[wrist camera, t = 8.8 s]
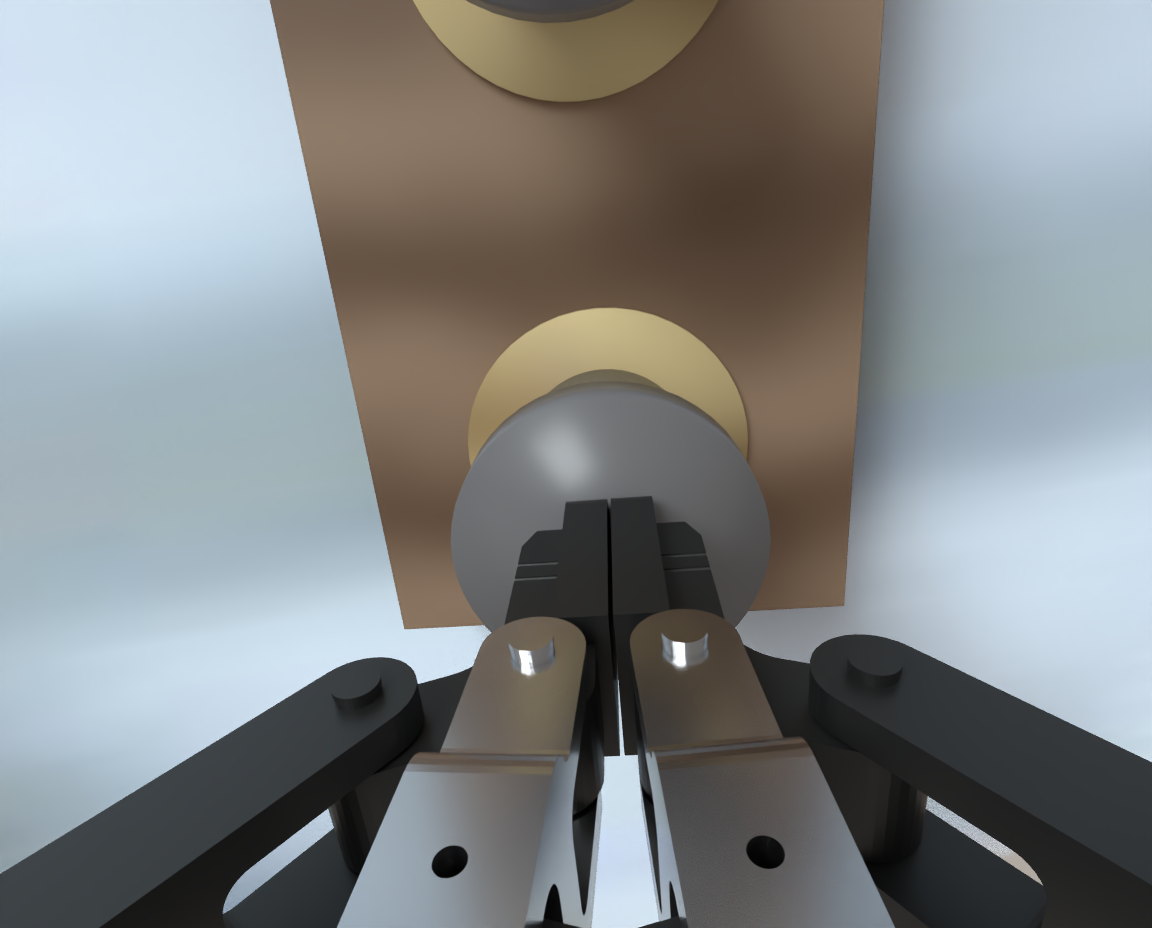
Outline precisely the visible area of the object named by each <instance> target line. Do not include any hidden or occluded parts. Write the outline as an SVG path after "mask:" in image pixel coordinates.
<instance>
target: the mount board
mask: <svg viewBox="0 0 1152 928" xmlns="http://www.w3.org/2000/svg"><path fill="white" fill-rule="evenodd" d="M270 3H271V8H272V13H273V17H274V22H275V27H276V31H277V36H278V41H279V45H280V50H281V55H282V59H283V64H284V69H285V73H286V78H287V83H288V87H289V92H290V97H291V101H292V106H293V111H294V115H295V120H296V125H297V129H298V134H299V139H300V143H301V148H302V153H303V157H304V162H305V167H306V171H307V176H308V181H309V185H310V190H311V195H312V199H313V204H314V209H315V213H316V218H317V223H318V227H319V232H320V237H321V241H322V246H323V251H324V255H325V260H326V265H327V269H328V274H329V279H330V283H331V288H332V293H333V297H334V302H335V307H336V311H337V316H338V321H339V325H340V330H341V335H342V339H343V344H344V349H345V353H346V358H347V363H348V367H349V372H350V377H351V381H352V386H353V391H354V395H355V400H356V405H357V409H358V414H359V419H360V423H361V428H362V433H363V437H364V442H365V447H366V451H367V456H368V461H369V465H370V470H371V475H372V479H373V484H374V489H375V493H376V498H377V503H378V507H379V512H380V517H381V521H382V526H383V531H384V535H385V540H386V545H387V549H388V554H389V559H390V563H391V568H392V573H393V577H394V582H395V587H396V591H397V596H398V601H399V605H400V610H401V615H402V619H403V624H404V629H419V628H438V627H456V626H475V625H484V624H483V623H482V622H481V620H480V619H479V618H478V616H477V615H476V614H475V612H474V611H473V610H472V608H471V606H470V604H469V603H468V601H467V599H466V598H465V596H464V594H463V591H462V589H461V587H460V584H459V582H458V579H457V576H456V572H455V568H454V564H453V560H452V550H451V523H452V518H453V513H454V508H455V504H456V501H457V498H458V496H459V493H460V490H461V487H462V485H463V483H464V481H465V479H466V476H467V474H468V472H469V470H470V468H471V466H472V464H473V462H474V460H475V458H476V456H477V454H478V452H479V451H480V449H481V447H482V446H483V445H484V443H485V442H486V440H487V439H488V438H489V436H490V435H491V434H492V433H493V432H494V431H495V430H496V428H497V427H498V426H499V425H500V424H501V423H502V422H503V421H504V420H505V419H507V418H508V417H509V416H510V415H512V414H513V413H514V412H516V411H517V410H518V409H519V408H521V407H523V406H524V405H526V404H528V403H529V402H531V401H533V400H535V399H536V398H538V397H540V396H543V395H545V394H548V393H549V392H550V391H551V390H552V389H553V388H555V387H556V386H557V385H558V384H560V383H562V382H563V381H565V380H567V379H568V378H571V377H573V376H575V375H578V374H581V373H584V372H588V371H593V370H600V369H615V370H624V371H628V372H632V373H635V374H638V375H641V376H643V377H645V378H647V379H649V380H651V381H653V382H654V383H656V384H657V385H659V386H660V387H661V388H663V389H664V390H665V391H667V392H670V393H673V394H675V395H678V396H680V397H682V398H683V399H685V400H687V401H689V402H691V403H692V404H694V405H696V406H698V407H699V408H700V409H702V410H703V411H704V412H706V413H707V414H708V415H710V416H711V417H712V418H713V419H715V420H716V421H717V422H718V423H719V424H720V425H721V426H722V427H723V428H724V429H725V430H726V431H727V433H728V434H729V435H730V437H731V438H732V439H733V440H734V442H735V443H736V444H737V446H738V447H739V449H740V451H741V453H742V454H743V456H744V458H745V460H746V462H747V463H748V465H749V467H750V469H751V471H752V473H753V475H754V477H755V479H756V481H757V483H758V484H759V487H760V490H761V492H762V495H763V498H764V500H765V503H766V507H767V512H768V517H769V521H770V537H771V544H770V554H769V562H768V566H767V570H766V574H765V578H764V580H763V583H762V585H761V588H760V590H759V593H758V595H757V597H756V598H755V600H754V602H753V604H752V605H751V607H750V609H749V610H748V611H756V610H775V609H794V608H813V607H831V606H844V597H845V582H846V567H847V552H848V537H849V522H850V507H851V492H852V476H853V461H854V446H855V431H856V416H857V401H858V386H859V371H860V356H861V341H862V326H863V311H864V295H865V280H866V265H867V250H868V235H869V220H870V205H871V190H872V175H873V160H874V145H875V130H876V115H877V99H878V84H879V69H880V54H881V39H882V24H883V9H884V0H634V1H633V2H631V3H629V4H627V5H625V6H623V7H621V8H619V9H617V10H614V11H611V12H608V13H605V14H602V15H599V16H597V17H594V18H589V19H583V20H578V21H573V22H561V23H538V22H530V21H521V20H516V19H512V18H509V17H505V16H501V15H498V14H494V13H492V12H489V11H487V10H485V9H483V8H480V7H478V6H476V5H474V4H471V3H469V2H468V1H466V0H270Z"/></svg>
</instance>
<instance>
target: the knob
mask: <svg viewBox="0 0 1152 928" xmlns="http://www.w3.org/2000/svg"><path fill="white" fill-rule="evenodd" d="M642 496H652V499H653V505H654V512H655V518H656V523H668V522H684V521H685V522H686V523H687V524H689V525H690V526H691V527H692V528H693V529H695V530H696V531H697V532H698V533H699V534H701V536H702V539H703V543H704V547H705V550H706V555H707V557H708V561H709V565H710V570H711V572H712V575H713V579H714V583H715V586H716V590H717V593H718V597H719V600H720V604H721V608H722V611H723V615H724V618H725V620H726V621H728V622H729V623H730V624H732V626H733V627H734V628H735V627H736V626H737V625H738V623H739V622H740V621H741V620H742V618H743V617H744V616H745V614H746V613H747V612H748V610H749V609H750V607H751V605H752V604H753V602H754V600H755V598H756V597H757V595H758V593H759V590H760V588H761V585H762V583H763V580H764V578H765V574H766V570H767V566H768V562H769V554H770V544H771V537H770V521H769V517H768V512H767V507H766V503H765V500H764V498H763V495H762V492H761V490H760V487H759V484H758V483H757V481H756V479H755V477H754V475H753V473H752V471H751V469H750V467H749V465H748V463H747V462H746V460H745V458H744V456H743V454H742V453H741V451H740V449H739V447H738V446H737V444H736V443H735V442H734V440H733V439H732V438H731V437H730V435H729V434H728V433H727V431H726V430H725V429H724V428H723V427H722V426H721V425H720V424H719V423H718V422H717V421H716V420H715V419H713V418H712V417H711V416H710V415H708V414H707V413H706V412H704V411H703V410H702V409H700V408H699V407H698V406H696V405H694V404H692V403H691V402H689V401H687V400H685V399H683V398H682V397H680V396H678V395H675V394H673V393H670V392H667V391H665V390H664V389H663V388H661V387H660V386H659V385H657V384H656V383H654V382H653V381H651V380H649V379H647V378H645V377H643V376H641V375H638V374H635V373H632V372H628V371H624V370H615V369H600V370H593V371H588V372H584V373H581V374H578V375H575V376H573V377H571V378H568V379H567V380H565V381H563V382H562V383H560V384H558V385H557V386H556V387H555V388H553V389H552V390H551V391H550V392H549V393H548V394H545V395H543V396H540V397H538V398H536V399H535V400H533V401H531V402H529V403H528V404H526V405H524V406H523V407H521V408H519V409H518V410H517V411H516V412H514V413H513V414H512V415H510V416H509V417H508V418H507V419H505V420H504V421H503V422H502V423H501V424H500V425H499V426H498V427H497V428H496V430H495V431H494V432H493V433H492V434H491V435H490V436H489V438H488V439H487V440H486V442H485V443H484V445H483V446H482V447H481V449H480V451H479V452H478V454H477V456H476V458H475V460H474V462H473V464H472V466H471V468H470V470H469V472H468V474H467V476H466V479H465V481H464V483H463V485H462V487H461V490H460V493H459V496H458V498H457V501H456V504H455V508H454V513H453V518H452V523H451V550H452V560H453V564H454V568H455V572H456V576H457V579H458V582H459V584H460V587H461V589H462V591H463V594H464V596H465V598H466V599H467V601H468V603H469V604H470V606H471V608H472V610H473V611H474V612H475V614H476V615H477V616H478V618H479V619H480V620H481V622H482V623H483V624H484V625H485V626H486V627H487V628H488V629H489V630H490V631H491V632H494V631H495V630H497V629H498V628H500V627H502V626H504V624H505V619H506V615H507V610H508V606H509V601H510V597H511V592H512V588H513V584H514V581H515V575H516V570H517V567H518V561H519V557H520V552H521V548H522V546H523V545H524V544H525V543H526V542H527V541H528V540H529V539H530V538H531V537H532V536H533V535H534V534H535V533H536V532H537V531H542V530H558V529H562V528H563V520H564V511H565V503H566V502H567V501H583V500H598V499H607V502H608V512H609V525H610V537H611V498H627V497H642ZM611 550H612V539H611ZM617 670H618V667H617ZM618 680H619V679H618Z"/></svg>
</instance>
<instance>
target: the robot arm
mask: <svg viewBox="0 0 1152 928" xmlns="http://www.w3.org/2000/svg"><path fill="white" fill-rule="evenodd" d="M611 539H612V550H611ZM617 667H618V670H617ZM618 679H619V691H620V704H621V716H622V728H623V740H624V752H625V755H638V763H639V775H640V789H641V803H642V812H643V819H644V825H645V832H646V838H647V845H648V851H649V858H650V865H651V871H652V878H653V884H654V891H655V897H656V904H657V911H658V917H659V922H656V923H653V924H649V925H646V926H642V927H639V928H1152V762H1150V761H1148V760H1146V759H1144V758H1142V757H1139V756H1137V755H1135V754H1133V753H1131V752H1129V751H1127V750H1125V749H1123V748H1121V747H1119V746H1116V745H1114V744H1112V743H1110V742H1108V741H1106V740H1104V739H1102V738H1100V737H1098V736H1096V735H1093V734H1091V733H1089V732H1087V731H1085V730H1083V729H1081V728H1079V727H1077V726H1075V725H1073V724H1070V723H1068V722H1066V721H1064V720H1062V719H1060V718H1058V717H1056V716H1054V715H1052V714H1050V713H1047V712H1045V711H1043V710H1041V709H1039V708H1037V707H1035V706H1033V705H1031V704H1029V703H1027V702H1024V701H1022V700H1020V699H1018V698H1016V697H1014V696H1012V695H1010V694H1008V693H1006V692H1004V691H1001V690H999V689H997V688H995V687H993V686H991V685H989V684H987V683H985V682H983V681H981V680H978V679H976V678H974V677H972V676H970V675H968V674H966V673H964V672H962V671H960V670H958V669H955V668H953V667H951V666H949V665H947V664H945V663H943V662H941V661H939V660H937V659H935V658H932V657H930V656H928V655H926V654H924V653H922V652H920V651H918V650H916V649H914V648H912V647H909V646H907V645H905V644H903V643H900V642H898V641H895V640H891V639H888V638H884V637H879V636H872V635H845V636H840V637H836V638H833V639H830V640H828V641H826V642H824V643H822V644H821V645H820V646H818V647H817V648H816V649H815V651H814V652H813V654H812V656H811V659H810V664H809V663H803V662H797V661H791V660H785V659H780V658H775V657H771V656H768V655H764V654H761V653H759V652H757V651H754V650H752V649H750V648H749V647H747V646H745V645H744V644H743V643H742V640H741V638H740V636H739V634H738V632H737V630H736V629H735V628H734V627H733V626H732V624H730V623H729V622H728V621H726V620H725V618H724V615H723V611H722V608H721V604H720V600H719V597H718V593H717V590H716V586H715V583H714V579H713V575H712V572H711V570H710V565H709V561H708V557H707V555H706V550H705V547H704V543H703V539H702V536H701V534H699V533H698V532H697V531H696V530H695V529H693V528H692V527H691V526H690V525H689V524H687V523H686V522H685V521H684V522H668V523H656V518H655V512H654V505H653V499H652V496H642V497H627V498H611V537H610V525H609V512H608V502H607V499H598V500H583V501H567V502H566V503H565V511H564V520H563V528H562V529H558V530H542V531H537V532H536V533H535V534H534V535H533V536H532V537H531V538H530V539H529V540H528V541H527V542H526V543H525V544H524V545H523V546H522V548H521V552H520V557H519V561H518V567H517V570H516V575H515V581H514V584H513V588H512V592H511V597H510V601H509V606H508V610H507V615H506V619H505V624H504V626H502V627H500V628H498V629H497V630H495V631H494V632H492V633H491V634H490V635H489V636H488V637H487V638H486V639H485V640H484V642H483V643H482V645H481V647H480V649H479V652H478V654H477V657H476V660H475V662H474V665H473V666H472V667H471V668H469V669H466V670H464V671H462V672H459V673H456V674H453V675H450V676H447V677H443V678H439V679H436V680H432V681H428V682H425V683H421V684H418V683H417V678H416V675H415V673H414V671H413V670H412V668H411V667H410V666H408V665H407V664H406V663H404V662H402V661H400V660H396V659H392V658H384V657H378V658H367V659H362V660H357V661H354V662H351V663H348V664H345V665H343V666H340V667H338V668H336V669H334V670H332V671H330V672H329V673H327V674H325V675H324V676H322V677H320V678H319V679H317V680H315V681H314V682H312V683H311V684H309V685H307V686H306V687H304V688H302V689H301V690H299V691H298V692H296V693H294V694H293V695H291V696H289V697H288V698H286V699H284V700H283V701H281V702H280V703H278V704H276V705H275V706H273V707H271V708H270V709H268V710H267V711H265V712H263V713H262V714H260V715H258V716H257V717H255V718H254V719H252V720H250V721H249V722H247V723H245V724H244V725H242V726H241V727H239V728H237V729H236V730H234V731H232V732H231V733H229V734H228V735H226V736H224V737H223V738H221V739H219V740H218V741H216V742H214V743H213V744H211V745H210V746H208V747H206V748H205V749H203V750H201V751H200V752H198V753H197V754H195V755H193V756H192V757H190V758H188V759H187V760H185V761H184V762H182V763H180V764H179V765H177V766H175V767H174V768H172V769H171V770H169V771H167V772H166V773H164V774H162V775H161V776H159V777H158V778H156V779H154V780H153V781H151V782H149V783H148V784H146V785H144V786H143V787H141V788H140V789H138V790H136V791H135V792H133V793H131V794H130V795H128V796H127V797H125V798H123V799H122V800H120V801H118V802H117V803H115V804H114V805H112V806H110V807H109V808H107V809H105V810H104V811H102V812H101V813H99V814H97V815H96V816H94V817H92V818H91V819H89V820H88V821H86V822H84V823H83V824H81V825H79V826H78V827H76V828H74V829H73V830H71V831H70V832H68V833H66V834H65V835H63V836H61V837H60V838H58V839H57V840H55V841H53V842H52V843H50V844H48V845H47V846H45V847H44V848H42V849H40V850H39V851H37V852H35V853H34V854H32V855H31V856H29V857H27V858H26V859H24V860H22V861H21V862H19V863H18V864H16V865H14V866H13V867H11V868H9V869H8V870H6V871H4V872H3V873H1V874H0V928H591V926H592V916H593V905H594V894H595V883H596V872H597V861H598V850H599V839H600V828H601V817H602V796H601V788H602V785H603V782H604V756H620V739H619V704H618ZM927 796H929V797H930V798H932V799H933V800H935V801H936V802H938V803H940V804H941V805H943V806H944V807H946V808H947V809H949V810H951V811H952V812H954V813H955V814H957V815H958V816H960V817H961V818H963V819H965V820H966V821H968V822H969V823H971V824H972V825H974V826H976V827H977V828H979V829H980V830H982V831H983V832H985V833H987V834H988V835H990V836H991V837H993V838H994V839H996V840H997V841H999V842H1001V843H1002V844H1004V845H1005V846H1007V847H1008V848H1010V849H1011V850H1013V851H1014V852H1016V853H1017V854H1018V855H1019V856H1021V857H1022V858H1023V859H1024V860H1025V861H1026V862H1027V863H1028V864H1029V865H1030V866H1031V868H1032V869H1033V870H1034V871H1035V873H1036V874H1037V876H1038V877H1039V879H1040V880H1041V882H1042V884H1043V885H1041V884H1040V883H1038V882H1036V881H1035V880H1033V879H1032V878H1030V877H1029V876H1027V875H1026V874H1024V873H1023V872H1021V871H1020V870H1018V869H1017V868H1015V867H1014V866H1012V865H1011V864H1009V863H1007V862H1006V861H1004V860H1003V859H1001V858H1000V857H998V856H997V855H995V854H994V853H992V852H991V851H989V850H988V849H986V848H985V847H983V846H982V845H980V844H978V843H977V842H975V841H974V840H972V839H971V838H969V837H968V836H966V835H965V834H963V833H962V832H960V831H959V830H957V829H956V828H954V827H953V826H951V825H949V824H948V823H946V822H945V821H943V820H942V819H940V818H939V817H937V816H936V815H934V814H933V813H931V812H930V811H928V810H927V809H926V803H927ZM326 809H329V813H330V816H331V819H332V823H333V826H334V829H332V830H331V831H330V832H328V833H327V834H326V835H325V836H323V837H322V838H321V839H320V840H318V841H317V842H316V843H315V844H313V845H312V846H311V847H310V848H308V849H307V850H306V851H305V852H303V853H302V854H301V855H299V856H298V857H297V858H296V859H294V860H293V861H292V862H291V863H289V864H288V865H287V866H286V867H284V868H283V869H282V870H281V871H279V872H278V873H277V874H276V875H274V876H273V877H272V878H270V879H269V880H268V881H267V882H265V883H264V884H263V885H262V886H260V887H259V888H258V889H257V890H255V891H254V892H253V893H252V894H250V895H249V896H248V897H247V898H245V899H244V900H243V901H242V902H240V903H239V904H238V905H236V906H235V907H234V908H232V909H231V910H230V911H228V912H226V913H224V914H223V907H224V903H225V900H226V898H227V896H228V894H229V892H230V890H231V888H232V887H233V885H234V884H235V883H236V882H237V880H238V879H239V878H240V877H241V876H242V875H243V874H244V873H245V872H246V871H247V870H248V869H250V868H251V867H252V866H253V865H255V864H256V863H257V862H259V861H260V860H261V859H262V858H264V857H265V856H266V855H268V854H269V853H270V852H272V851H273V850H274V849H276V848H277V847H278V846H279V845H281V844H282V843H283V842H285V841H286V840H287V839H289V838H290V837H291V836H293V835H294V834H295V833H296V832H298V831H299V830H300V829H302V828H303V827H304V826H306V825H307V824H308V823H309V822H311V821H312V820H313V819H315V818H316V817H317V816H319V815H320V814H321V813H323V812H324V811H325V810H326Z"/></svg>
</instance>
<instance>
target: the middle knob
mask: <svg viewBox="0 0 1152 928" xmlns="http://www.w3.org/2000/svg"><path fill="white" fill-rule="evenodd" d="M466 1H468V2H469V3H471V4H474V5H476V6H478V7H480V8H483V9H485V10H487V11H489V12H492V13H494V14H498V15H501V16H505V17H509V18H512V19H516V20H521V21H530V22H538V23H561V22H573V21H578V20H583V19H589V18H594V17H597V16H599V15H602V14H605V13H608V12H611V11H614V10H617V9H619V8H621V7H623V6H625V5H627V4H629V3H631V2H633V1H634V0H466Z"/></svg>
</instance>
